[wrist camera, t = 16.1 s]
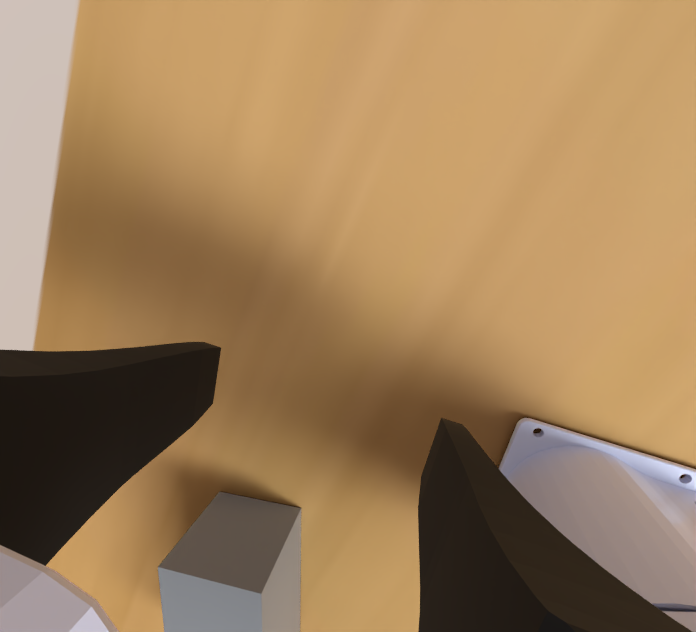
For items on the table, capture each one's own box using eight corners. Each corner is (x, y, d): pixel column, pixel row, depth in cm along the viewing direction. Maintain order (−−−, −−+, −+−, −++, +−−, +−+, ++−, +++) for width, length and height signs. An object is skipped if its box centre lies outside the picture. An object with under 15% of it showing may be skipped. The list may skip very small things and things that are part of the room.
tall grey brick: (301, 508, 23) (261, 593, 18) (299, 654, 26) (265, 768, 21) (219, 491, 25) (157, 566, 19) (226, 633, 27) (175, 735, 22)
